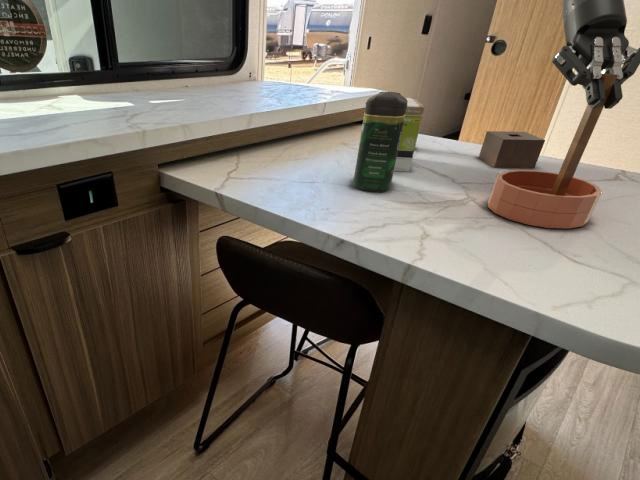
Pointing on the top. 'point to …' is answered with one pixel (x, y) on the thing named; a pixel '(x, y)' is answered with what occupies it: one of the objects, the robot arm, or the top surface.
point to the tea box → (409, 135)
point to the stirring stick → (580, 140)
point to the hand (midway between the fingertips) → (605, 104)
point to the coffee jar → (379, 141)
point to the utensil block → (511, 149)
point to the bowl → (542, 199)
